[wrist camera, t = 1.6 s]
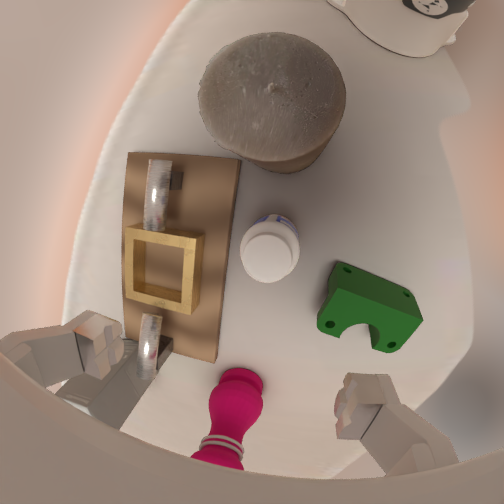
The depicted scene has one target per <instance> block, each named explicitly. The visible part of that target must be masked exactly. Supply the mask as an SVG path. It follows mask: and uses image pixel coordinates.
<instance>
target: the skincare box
mask: <svg viewBox="0 0 504 504" xmlns="http://www.w3.org/2000/svg"><path fill="white" fill-rule="evenodd" d="M123 342H124V353H123V355H122V358H121V360H120V361H119V362H118V363H117V364H114V365H111V366H110V367H111V371H110V372H109V373H108V374H107V375H106V376H105V377H104V378H103V379H102V380H100V379H98V378H96V377H93V376H91V375H89V374H87V373H85V372H84V373H83V374H80V375H78V376H75V377H72V378H70V379H69V380H68V381H67V382H66V383H65V384H64V385H63V386H62V387H61V388H60V389H59V390H58V391H57V392H56V394H55V395H57V396H58V397H60V398H61V399H63V400H65V401H66V402H68V403H69V404H71V405H73V406H74V407H76V408H78V409H79V410H81V411H83V412H85V413H86V414H88V415H90V416H92V417H94V418H96V419H97V420H99V421H101V422H103V423H105V424H107V425H109V426H111V427H113V428H115V429H117V430H119V429H120V428H121V426H122V425H123V423H124V422H125V420H126V419H127V417H128V416H129V414H130V413H131V411H132V410H133V408H134V407H135V405H136V404H137V403H138V401H139V400H140V398H141V397H142V395H143V394H144V392H145V391H146V389H147V388H148V386H149V385H150V384H151V382H152V381H153V380H143V379H140V378H139V377H137V376H136V369H137V357H138V347H139V341H136V340H123ZM157 373H158V370H156V374H155V376H156V375H157Z"/></svg>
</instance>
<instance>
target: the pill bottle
mask: <svg viewBox="0 0 504 504" xmlns="http://www.w3.org/2000/svg"><path fill="white" fill-rule="evenodd" d="M299 255H300V244H299V236H298V232H297V229H296V227H295V225H294V224H293V223H292V222H291V221H290V220H289V219H287V218H286V217H284V216H281V215H276V214H271V215H266V216H264V217H262V218H260V219H259V220H257V221H256V222H255V223H254V224H253V225H252V226H251V227H250V228H249V229H248V230H247V232H246V233H245V234H244V236H243V238H242V240H241V244H240V257H241V261H242V263H243V266H244V268H245V270H246V272H247V273H248V274H249V275H250V276H251V277H252V278H253V279H255V280H257V281H259V282H263V283H272V282H276V281H278V280H280V279H282V278H283V277H285V276H287V275H288V274H289V273H290V272H291V271H292V270H293V269H294V268H295V266H296V264H297V262H298V260H299Z"/></svg>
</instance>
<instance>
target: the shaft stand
mask: <svg viewBox="0 0 504 504" xmlns="http://www.w3.org/2000/svg"><path fill="white" fill-rule="evenodd" d="M240 163H241V160H239V159H231V158H221V157H211V156H199V155H185V154H167V153H138V152H128V158H127V166H126V176H125V187H124V199H123V216H122V294H123V311H124V323H125V334H126V337H127V338H130V339H133V340H136V341H139V347H138V357H137V369H136V376H137V377H139V378H140V379H143V380H153V379H155V374H156V370H159V369H160V368H161V366H162V365H163V363H164V362H165V361H166V359H167V358H168V357H169V355H170V354H171V352H174V353H177V354H180V355H184V356H188V357H191V358H195V359H199V360H203V361H206V362H210V363H215V361H216V359H217V354H218V344H219V334H220V324H221V315H222V306H223V297H224V288H225V279H226V270H227V262H228V254H229V245H230V237H231V230H232V222H233V214H234V206H235V199H236V192H237V184H238V177H239V170H240Z"/></svg>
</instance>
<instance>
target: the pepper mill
mask: <svg viewBox="0 0 504 504" xmlns="http://www.w3.org/2000/svg"><path fill="white" fill-rule="evenodd" d="M262 389H263V383H262V381H261V379H260V378H259V376H258V375H256V374H255V373H254V372H252V371H250V370H247V369H242V368H234V369H230V370H228V371H226V372H225V373H224V374H223V375H222V377H221V379H220V382H219V385H218V386H216V387H215V388H214V389H213V390H212V392H211V395H210V399H209V412H210V417H211V422H212V425H211V430H210V433H209V435H208V436H206V437H204V438H203V439H202V441H201V444H200V446H199V451H197V452H195V453H194V454H193V455H192V456H191V457H190V458H193V459H197V460H200V461H204V462H208V463H212V464H216V465H220V466H224V467H229V468H233V469H238V470H243V471H244V468H243V465H242V463H241V461H242V459H243V454H244V448H243V446H242V439H243V436H244V434H245V432H246V431H247V430H248V429H249V428H250V427H251V426H252V425H253V424H254V423H255V422H256V420H257V419H258V417H259V416H260V414H261V411H262V408H263V400H262V397H261V394H262Z"/></svg>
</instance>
